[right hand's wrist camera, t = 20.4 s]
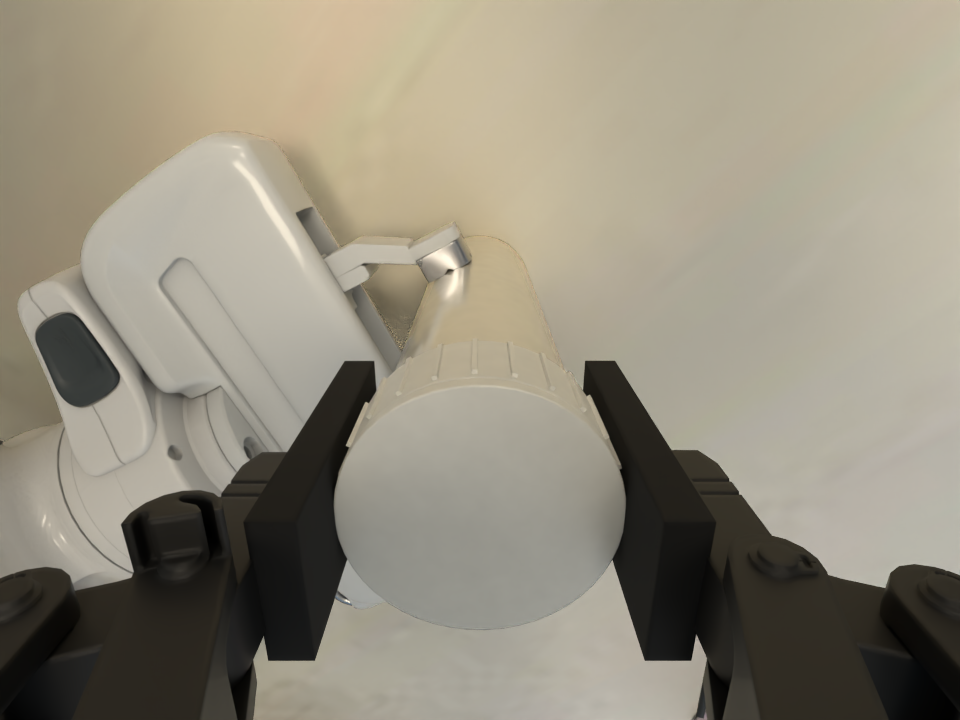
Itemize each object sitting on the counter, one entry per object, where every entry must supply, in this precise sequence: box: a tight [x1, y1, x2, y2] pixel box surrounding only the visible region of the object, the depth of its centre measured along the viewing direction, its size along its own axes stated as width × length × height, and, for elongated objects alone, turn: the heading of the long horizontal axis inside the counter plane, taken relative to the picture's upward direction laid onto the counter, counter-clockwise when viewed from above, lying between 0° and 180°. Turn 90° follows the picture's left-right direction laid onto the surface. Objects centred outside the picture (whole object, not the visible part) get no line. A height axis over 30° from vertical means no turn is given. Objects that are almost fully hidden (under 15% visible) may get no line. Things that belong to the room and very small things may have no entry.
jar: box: [395, 236, 565, 371], centre depth 19 cm, size 5×5×18 cm
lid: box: [334, 338, 626, 630], centre depth 11 cm, size 6×6×2 cm
